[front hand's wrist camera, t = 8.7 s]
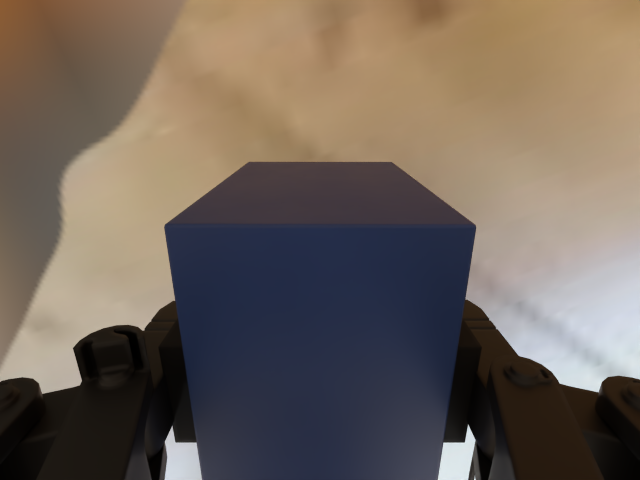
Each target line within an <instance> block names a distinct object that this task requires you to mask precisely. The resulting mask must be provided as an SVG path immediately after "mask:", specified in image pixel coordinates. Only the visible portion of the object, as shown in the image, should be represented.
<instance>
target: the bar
mask: <svg viewBox="0 0 640 480" xmlns="http://www.w3.org/2000/svg"><path fill="white" fill-rule="evenodd" d="M164 228H165V235H166V242H167V248H168V255H169V262H170V268H171V275H172V282H173V288H174V295H175V301H176V308H177V315H178V321H179V328H180V335H181V341H182V348H183V355H184V361H185V368H186V374H187V381H188V388H189V394H190V401H191V408H192V414H193V421H194V428H195V434H196V441H197V448H198V454H199V461H200V467H201V474H202V480H438V474H439V467H440V461H441V454H442V448H443V441H444V435H445V428H446V421H447V415H448V408H449V402H450V395H451V389H452V382H453V376H454V369H455V363H456V356H457V350H458V343H459V336H460V330H461V323H462V317H463V310H464V304H465V297H466V291H467V284H468V278H469V271H470V264H471V258H472V251H473V245H474V238H475V232H476V226H475V224H473V223H472V222H471V221H469V220H468V219H467V218H465V217H464V216H463V215H461V214H460V213H459V212H457V211H456V210H455V209H453V208H452V207H451V206H449V205H448V204H447V203H445V202H444V201H443V200H441V199H440V198H439V197H437V196H436V195H435V194H434V193H432V192H431V191H430V190H428V189H427V188H426V187H424V186H423V185H422V184H420V183H419V182H418V181H416V180H415V179H414V178H412V177H411V176H410V175H408V174H407V173H406V172H404V171H403V170H402V169H400V168H399V167H398V166H396V165H395V164H394V163H392V162H248V163H247V164H246V165H244V166H243V167H242V168H240V169H239V170H238V171H236V172H235V173H234V174H232V175H231V176H229V177H228V178H227V179H225V180H224V181H223V182H221V183H220V184H219V185H217V186H216V187H215V188H213V189H212V190H211V191H209V192H208V193H207V194H205V195H204V196H203V197H201V198H200V199H199V200H197V201H196V202H195V203H193V204H192V205H191V206H189V207H188V208H187V209H185V210H184V211H183V212H181V213H180V214H179V215H177V216H176V217H175V218H173V219H172V220H171V221H169V222H168V223H167V224H165V227H164Z"/></svg>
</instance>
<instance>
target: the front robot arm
mask: <svg viewBox="0 0 640 480" xmlns="http://www.w3.org/2000/svg"><path fill="white" fill-rule="evenodd" d="M73 350H74V353H75V357H76V360H77V364H78V368H79V371H80V375H81V378H82V382H81V384H80V386H77V387H73V388H68V389H64V390H59V391H54V392H50V393H45V394H42V392H41V389H40V386H39V383H38V382H36V381H35V380H34V379H30V378H23V377H22V378H15V379H8V380H4V381H1V382H0V480H164V479H165V471H166V463H167V453H166V446H165V440H166V438H167V436H168V433H169V431H170V429H171V427H172V425H173V431H174V436H175V442H197V441H196V434H195V428H194V421H193V414H192V408H191V401H190V394H189V388H188V381H187V374H186V368H185V361H184V355H183V348H182V341H181V335H180V328H179V321H178V315H177V308H176V301H172V302H171V303H169V304H168V305H166V306H165V307H163V308H161V309H160V310H159V311H158V312H157V314H156V315H155V316H154V317H153V319H152V320H151V322H150V323H149V324H148V325H147V326H146V328H145V331H142V330H141V329H139V328H138V327H135V326H131V325H117V326H112V327H108V328H103V329H101V330H98V331H96V332H93V333H91V334H89V335H88V336H86V337H85V338H83V339H81V340H80V341H79V342H78V343H77V344H76V345H75V347H74V348H73ZM468 425H469V427H470V429H471V431H472V433H473V435H474V437H475V440H476V441H475V446H474V451H473V456H472V462H471V467H470V472H469V479H468V480H474V477H475V478H476V480H640V380H639V379H635V378H630V377H623V376H613V377H608V378H606V379H605V380H604V381H603V382H602V384H601V387H600V390H599V393H598V392H594V391H589V390H584V389H579V388H575V387H570V386H566V385H562V384H559V382H558V380H557V379H556V377H555V376H554V375H553V373H552V372H551V371H549V370H548V369H547V368H545V367H544V366H543V365H541V364H539V363H537V362H535V361H533V360H531V359H528V358H524V357H520V356H518V355H517V353H516V352H515V351H514V350H513V348H512V347H511V346H510V345H509V343H508V342H507V341H506V339H505V338H504V337H503V336H502V334H501V333H500V332H499V331H498V329H496V327H495V326H494V324H493V323H492V322H491V321H489V318H488V317H487V316H486V314H485V313H484V312H483V310H482V309H481V308H479V307H478V306H476V305H475V304H473V303H472V302H470V301H468V300H465V304H464V310H463V317H462V323H461V330H460V336H459V343H458V350H457V356H456V363H455V369H454V376H453V382H452V389H451V395H450V402H449V408H448V415H447V421H446V428H445V435H444V441H443V442H465V438H466V432H467V427H468Z"/></svg>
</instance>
